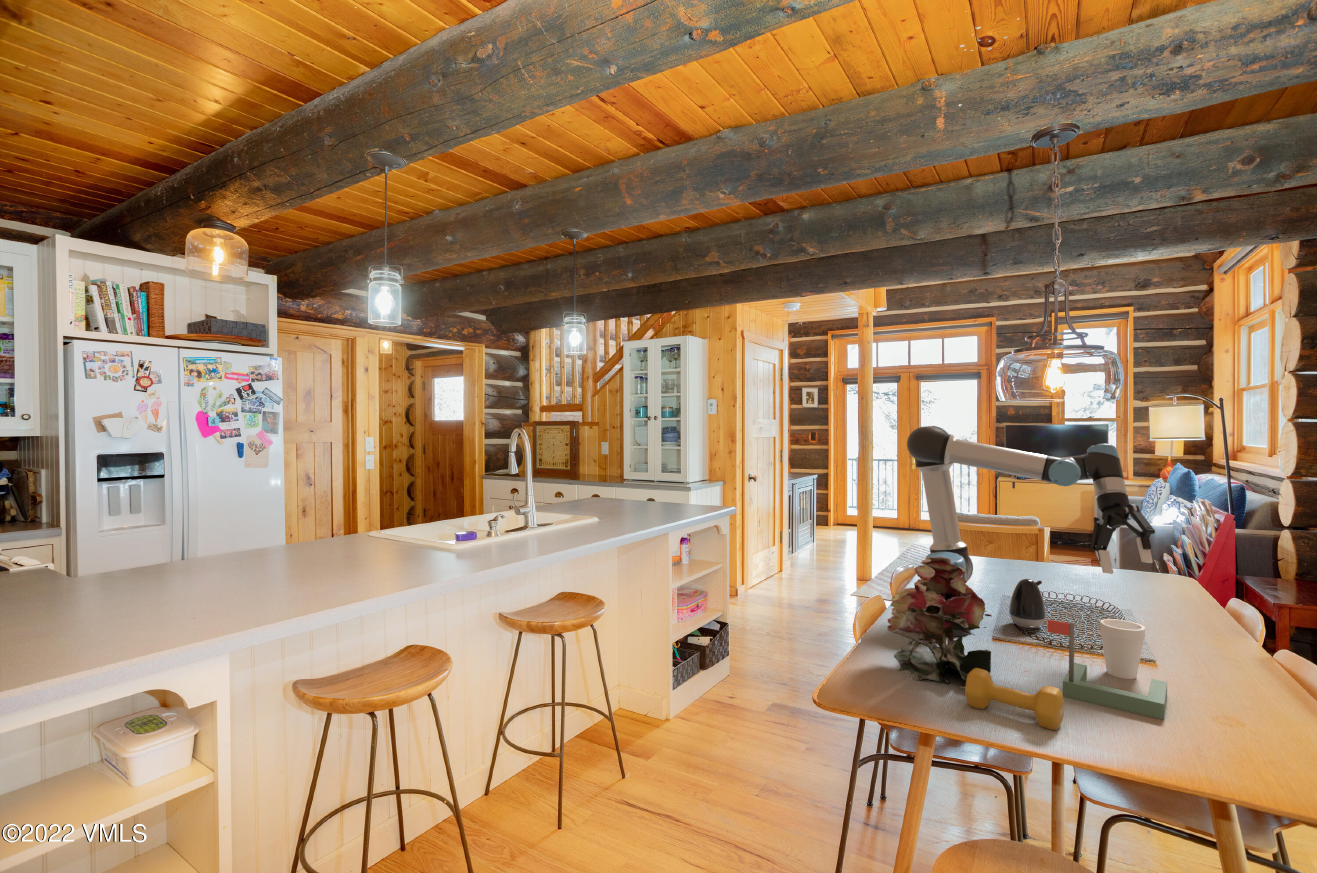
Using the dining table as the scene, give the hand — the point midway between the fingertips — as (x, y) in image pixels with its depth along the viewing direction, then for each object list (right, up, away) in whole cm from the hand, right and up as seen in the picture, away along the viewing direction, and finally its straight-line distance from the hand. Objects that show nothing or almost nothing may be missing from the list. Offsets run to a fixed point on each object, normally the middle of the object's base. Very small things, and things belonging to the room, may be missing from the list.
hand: (1127, 568), depth 175 cm
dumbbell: (-50, -26, -33) cm, 65 cm away
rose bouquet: (-55, -26, -6) cm, 61 cm away
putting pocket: (-22, -26, -22) cm, 40 cm away
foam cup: (-9, -26, -10) cm, 29 cm away
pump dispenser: (-11, -25, +29) cm, 40 cm away
